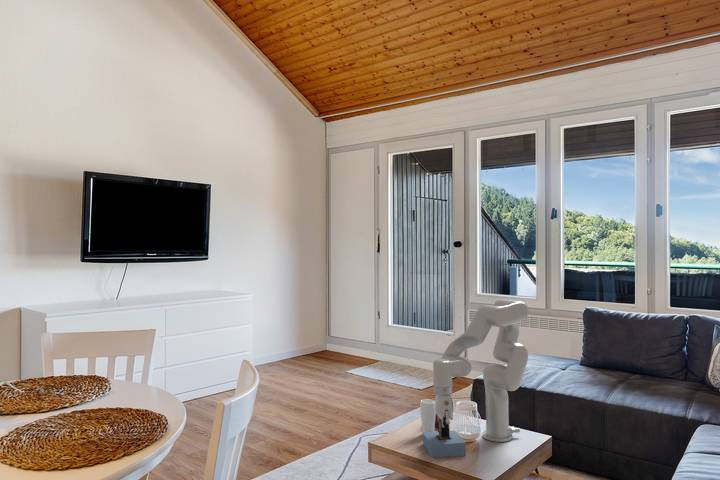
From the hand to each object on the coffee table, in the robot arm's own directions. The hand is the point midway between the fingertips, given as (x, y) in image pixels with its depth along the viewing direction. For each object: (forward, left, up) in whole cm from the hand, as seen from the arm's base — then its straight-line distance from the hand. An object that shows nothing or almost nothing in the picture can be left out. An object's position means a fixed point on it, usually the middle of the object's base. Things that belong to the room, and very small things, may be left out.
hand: (443, 434), depth 215 cm
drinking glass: (+2, -17, -7) cm, 18 cm away
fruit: (-6, -28, -7) cm, 29 cm away
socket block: (0, 0, -6) cm, 6 cm away
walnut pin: (0, 0, -5) cm, 5 cm away
